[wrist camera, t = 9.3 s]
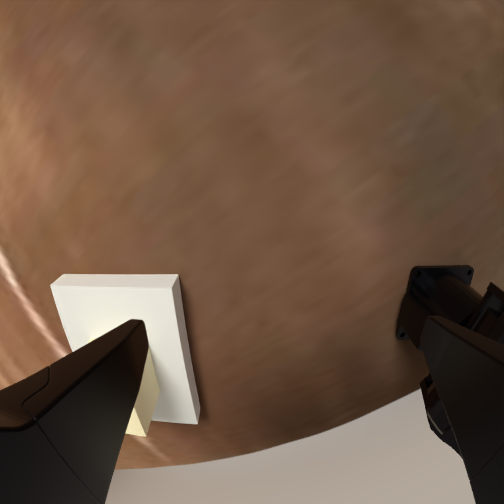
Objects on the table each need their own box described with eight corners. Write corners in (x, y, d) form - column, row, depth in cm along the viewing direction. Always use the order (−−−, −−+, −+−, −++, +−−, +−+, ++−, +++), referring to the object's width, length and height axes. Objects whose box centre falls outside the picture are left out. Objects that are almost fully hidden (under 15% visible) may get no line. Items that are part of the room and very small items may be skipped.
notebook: (179, 272, 22) (171, 287, 19) (201, 404, 27) (197, 424, 24) (65, 271, 22) (50, 285, 19) (107, 395, 27) (99, 412, 24)
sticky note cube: (148, 343, 21) (128, 391, 16) (160, 390, 23) (146, 436, 18) (90, 338, 21) (63, 379, 16) (106, 383, 23) (87, 425, 18)
